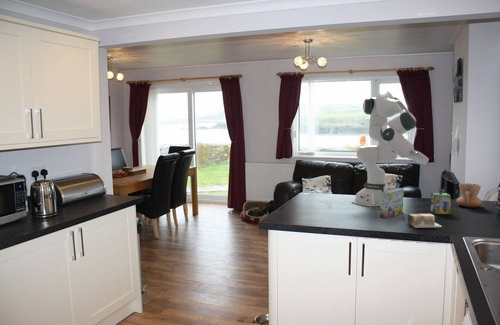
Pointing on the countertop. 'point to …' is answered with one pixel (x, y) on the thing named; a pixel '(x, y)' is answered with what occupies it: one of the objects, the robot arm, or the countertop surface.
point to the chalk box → (440, 203)
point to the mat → (427, 225)
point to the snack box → (391, 202)
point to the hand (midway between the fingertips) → (418, 161)
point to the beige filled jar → (421, 219)
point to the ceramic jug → (469, 195)
